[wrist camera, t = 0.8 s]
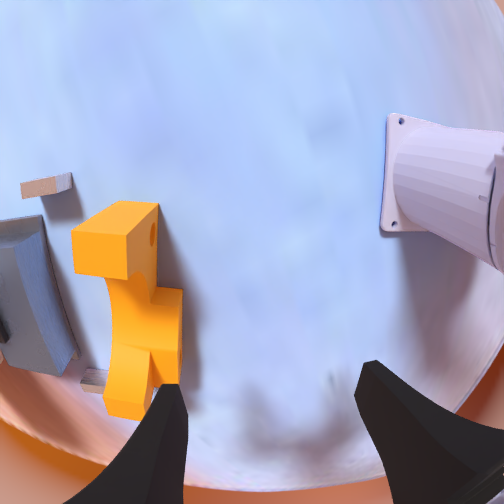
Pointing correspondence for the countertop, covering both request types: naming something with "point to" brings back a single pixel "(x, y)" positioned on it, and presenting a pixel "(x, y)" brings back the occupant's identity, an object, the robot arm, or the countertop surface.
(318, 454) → the countertop surface
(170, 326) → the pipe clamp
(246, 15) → the countertop surface
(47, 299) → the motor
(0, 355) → the supplement box
